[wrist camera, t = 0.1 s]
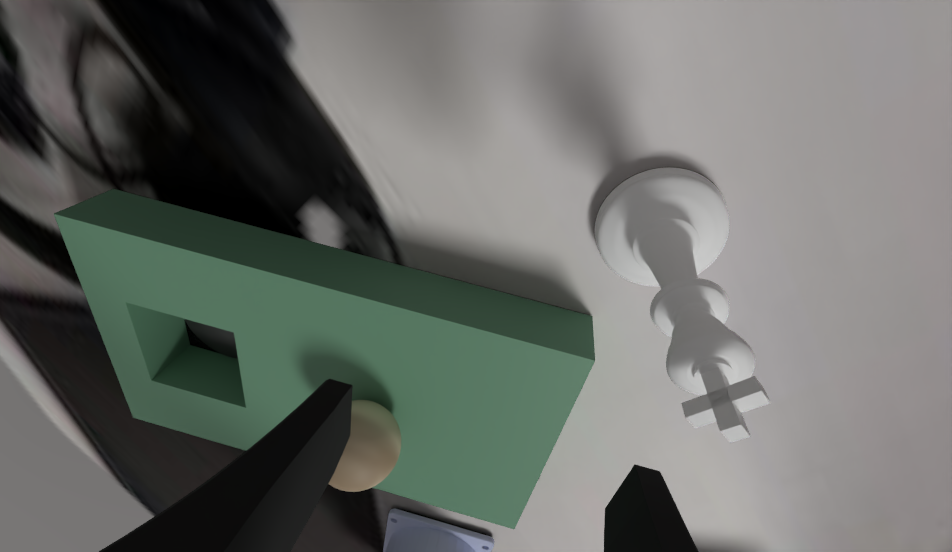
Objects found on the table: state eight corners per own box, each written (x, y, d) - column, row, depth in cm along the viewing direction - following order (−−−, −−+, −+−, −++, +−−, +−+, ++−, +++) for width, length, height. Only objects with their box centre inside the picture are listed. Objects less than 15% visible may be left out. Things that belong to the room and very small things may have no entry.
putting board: (592, 316, 20) (595, 360, 18) (519, 482, 28) (514, 529, 26) (113, 188, 22) (53, 213, 19) (170, 381, 29) (133, 417, 27)
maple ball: (408, 445, 23) (380, 520, 20) (336, 424, 23) (297, 495, 20) (416, 395, 21) (387, 470, 18) (336, 372, 21) (293, 443, 18)
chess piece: (570, 216, 18) (568, 404, 10) (685, 139, 16) (812, 300, 7) (636, 297, 19) (684, 521, 11) (750, 238, 17) (919, 466, 9)
